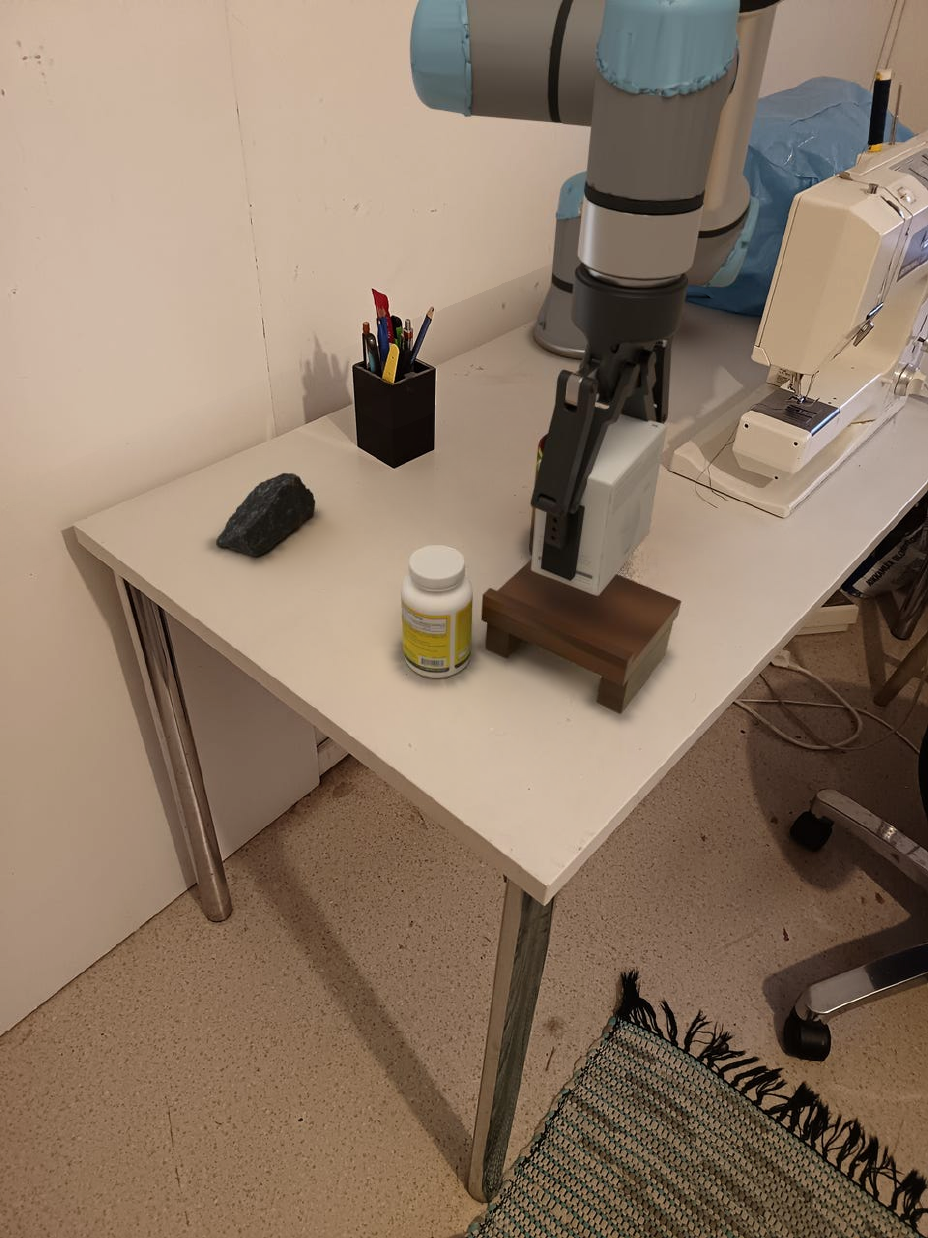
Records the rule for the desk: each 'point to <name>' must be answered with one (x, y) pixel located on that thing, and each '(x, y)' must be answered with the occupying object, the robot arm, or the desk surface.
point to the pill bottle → (437, 612)
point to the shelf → (584, 627)
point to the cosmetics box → (612, 503)
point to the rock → (268, 515)
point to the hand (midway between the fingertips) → (592, 538)
